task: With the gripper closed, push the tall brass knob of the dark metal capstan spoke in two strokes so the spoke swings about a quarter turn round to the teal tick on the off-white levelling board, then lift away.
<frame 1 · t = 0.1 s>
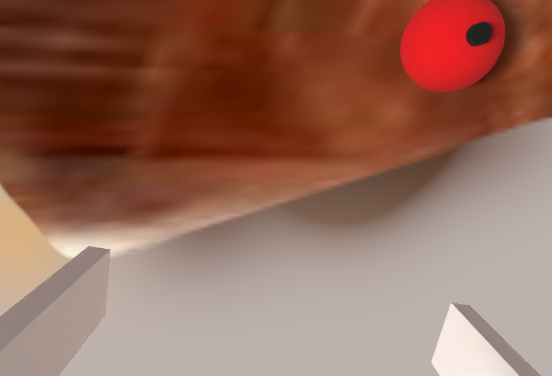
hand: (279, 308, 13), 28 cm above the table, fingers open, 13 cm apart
ornament: (427, 51, 38), on the table
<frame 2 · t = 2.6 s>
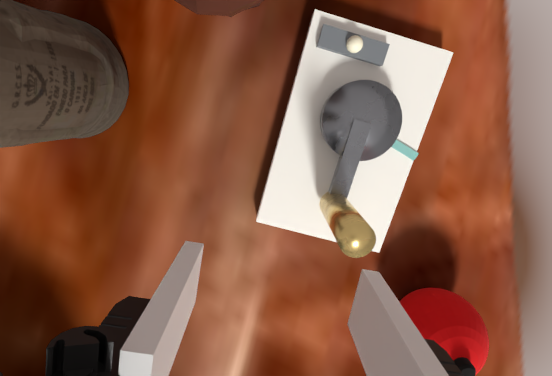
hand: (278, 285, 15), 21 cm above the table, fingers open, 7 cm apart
capstan: (361, 159, 27), point 7 cm above the table, hinge at 0.0°
stand: (345, 139, 34), on the table
beer stein: (47, 78, 32), on the table
ornament: (417, 307, 39), on the table
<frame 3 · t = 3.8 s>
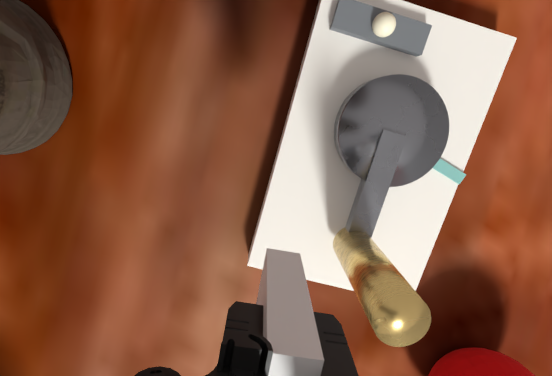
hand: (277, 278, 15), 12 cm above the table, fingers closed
capstan: (398, 188, 19), point 7 cm above the table, hinge at 0.0°
stand: (365, 154, 26), on the table
ornament: (454, 367, 31), on the table
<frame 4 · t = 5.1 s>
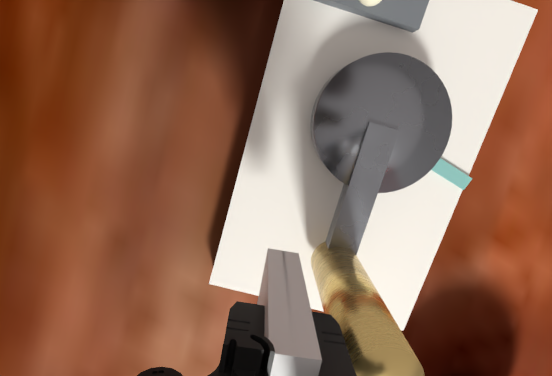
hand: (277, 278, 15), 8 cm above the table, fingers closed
capstan: (386, 196, 15), point 7 cm above the table, hinge at 0.8°, touching gripper
stand: (351, 153, 22), on the table
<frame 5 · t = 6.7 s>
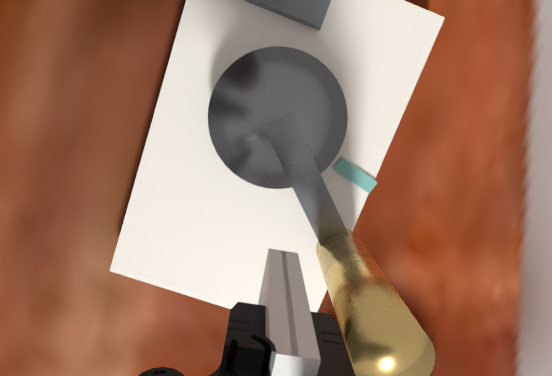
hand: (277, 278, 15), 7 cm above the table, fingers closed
capstan: (309, 185, 15), point 7 cm above the table, hinge at 46.0°, touching gripper
stand: (265, 149, 21), on the table
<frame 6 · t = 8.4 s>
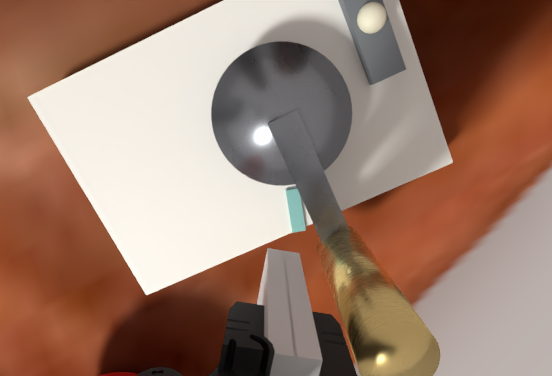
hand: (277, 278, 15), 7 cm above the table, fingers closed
capstan: (313, 182, 14), point 7 cm above the table, hinge at 90.5°, touching gripper
stand: (249, 128, 21), on the table
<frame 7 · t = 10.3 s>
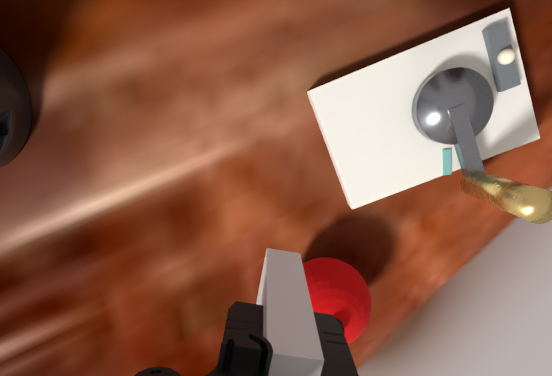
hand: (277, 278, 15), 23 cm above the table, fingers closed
capstan: (484, 138, 29), point 7 cm above the table, hinge at 90.6°
stand: (417, 114, 36), on the table
ornament: (320, 279, 40), on the table
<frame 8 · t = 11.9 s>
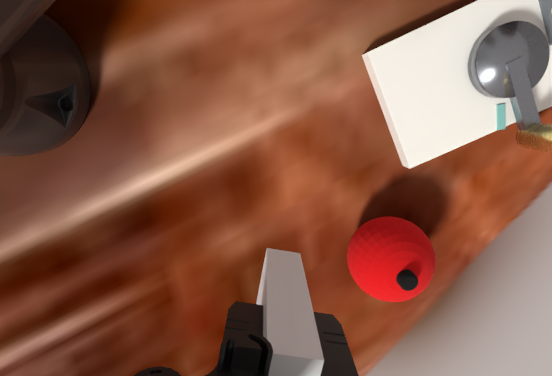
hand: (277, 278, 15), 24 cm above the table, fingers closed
capstan: (548, 87, 30), point 7 cm above the table, hinge at 90.6°
stand: (469, 73, 37), on the table
ornament: (376, 241, 42), on the table
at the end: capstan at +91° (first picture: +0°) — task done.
